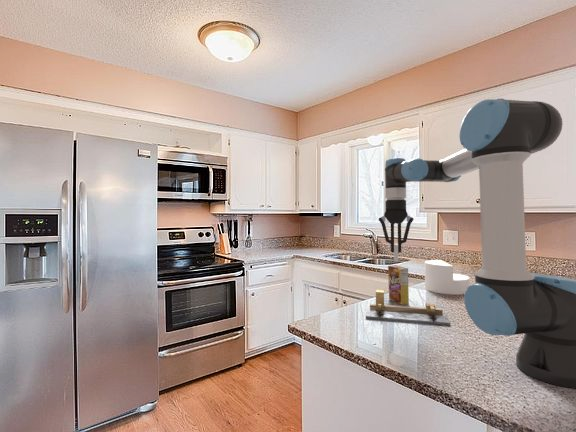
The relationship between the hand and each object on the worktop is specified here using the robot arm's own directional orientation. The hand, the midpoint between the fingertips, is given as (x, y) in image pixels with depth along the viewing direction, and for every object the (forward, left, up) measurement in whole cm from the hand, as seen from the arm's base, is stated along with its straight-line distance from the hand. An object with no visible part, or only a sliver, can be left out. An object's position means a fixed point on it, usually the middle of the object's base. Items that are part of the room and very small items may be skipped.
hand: (396, 260), depth 125 cm
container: (+46, -25, -20) cm, 56 cm away
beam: (-2, -3, -20) cm, 20 cm away
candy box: (+17, -1, -20) cm, 26 cm away
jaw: (-2, +6, -20) cm, 21 cm away
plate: (-6, -3, -20) cm, 21 cm away
